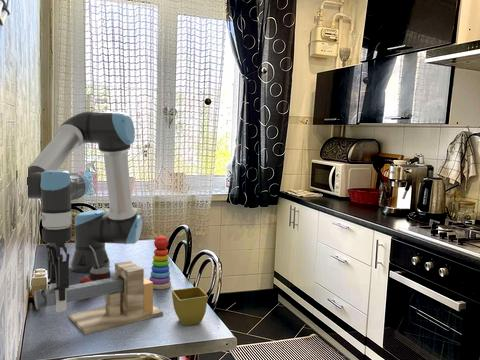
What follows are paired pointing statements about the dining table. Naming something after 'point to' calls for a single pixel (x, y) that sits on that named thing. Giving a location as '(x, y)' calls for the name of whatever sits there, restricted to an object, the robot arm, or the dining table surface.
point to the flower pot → (189, 305)
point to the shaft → (80, 291)
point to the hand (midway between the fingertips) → (58, 308)
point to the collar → (148, 295)
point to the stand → (118, 303)
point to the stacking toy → (160, 265)
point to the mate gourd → (98, 270)
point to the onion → (85, 280)
